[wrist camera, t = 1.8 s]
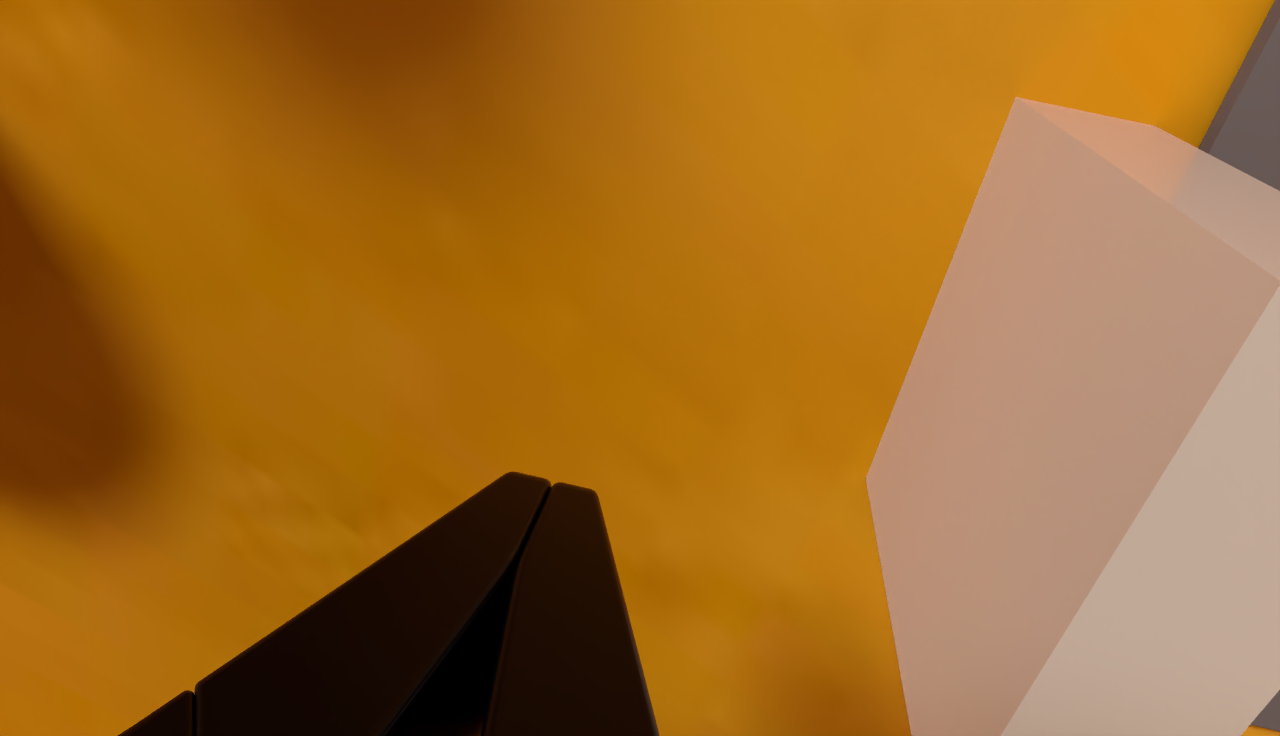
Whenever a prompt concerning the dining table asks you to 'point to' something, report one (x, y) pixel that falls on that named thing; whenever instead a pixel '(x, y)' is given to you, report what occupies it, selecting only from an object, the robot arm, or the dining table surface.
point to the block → (1091, 446)
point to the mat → (1253, 153)
